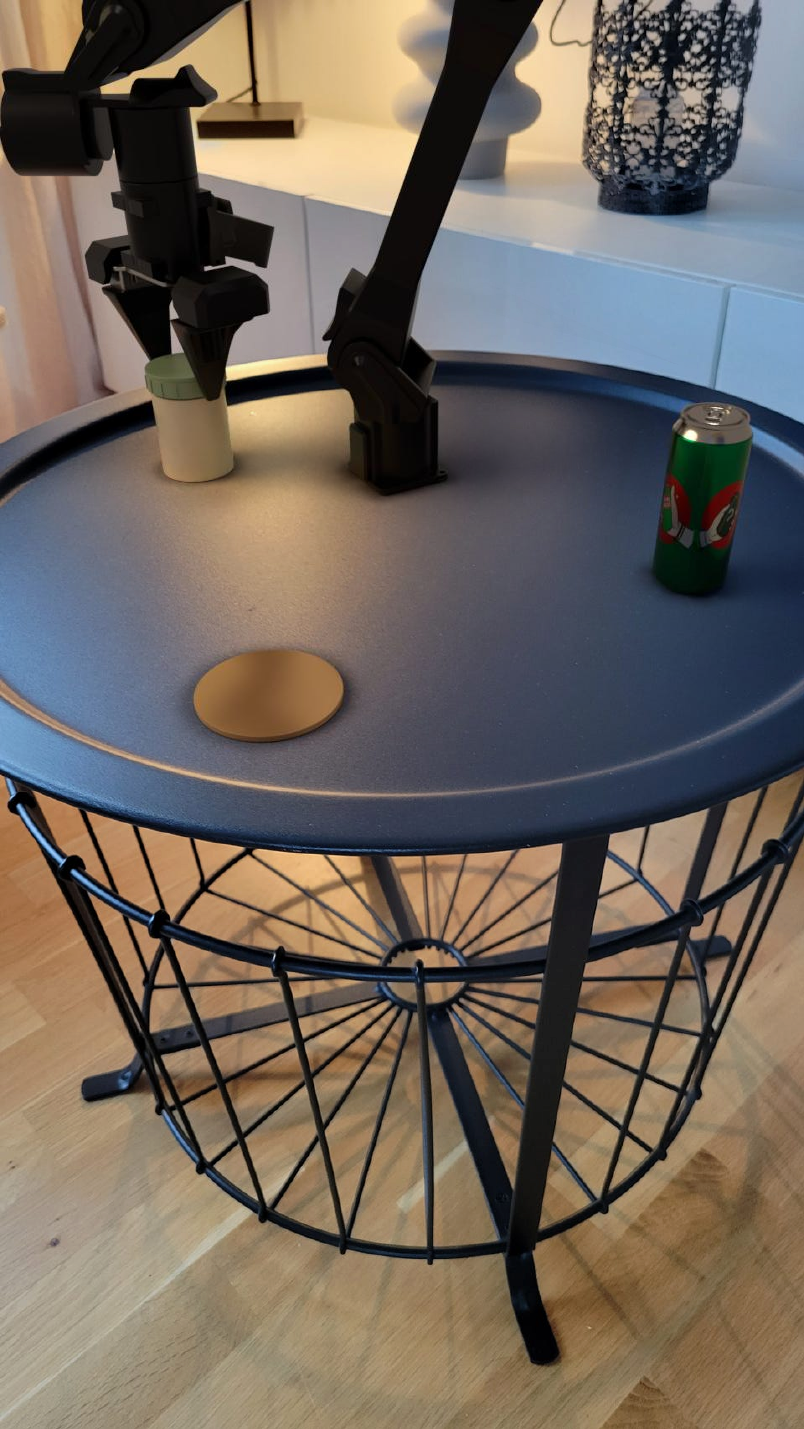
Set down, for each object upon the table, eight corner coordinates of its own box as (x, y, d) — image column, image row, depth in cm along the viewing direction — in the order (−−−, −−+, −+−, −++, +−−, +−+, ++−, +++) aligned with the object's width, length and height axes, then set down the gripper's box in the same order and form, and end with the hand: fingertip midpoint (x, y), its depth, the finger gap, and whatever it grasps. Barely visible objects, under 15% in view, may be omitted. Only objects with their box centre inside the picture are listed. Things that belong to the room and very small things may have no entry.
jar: (219, 448, 94) (207, 353, 89) (244, 472, 90) (233, 374, 85) (154, 462, 92) (138, 366, 86) (177, 488, 87) (161, 388, 82)
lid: (210, 366, 90) (207, 347, 89) (238, 389, 85) (236, 369, 84) (137, 380, 87) (133, 360, 86) (162, 404, 83) (158, 384, 82)
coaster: (305, 640, 69) (305, 635, 68) (369, 712, 62) (369, 706, 62) (173, 680, 65) (172, 675, 65) (227, 760, 59) (226, 755, 59)
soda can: (727, 568, 75) (759, 404, 68) (720, 603, 71) (753, 433, 64) (656, 558, 77) (680, 396, 69) (645, 591, 73) (669, 424, 66)
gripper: (322, 179, 75) (334, 394, 84) (191, 147, 87) (214, 339, 96) (185, 202, 70) (214, 429, 79) (64, 165, 81) (102, 366, 91)
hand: (188, 387), depth 86 cm, fingers open, 7 cm apart
